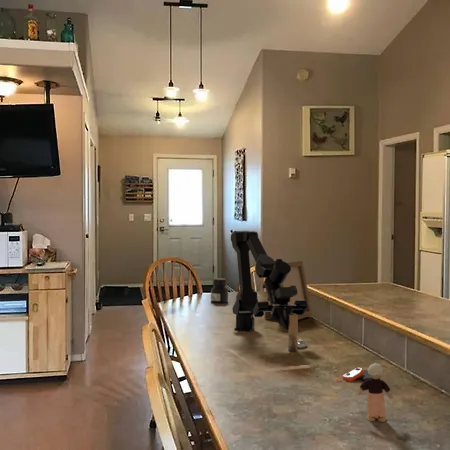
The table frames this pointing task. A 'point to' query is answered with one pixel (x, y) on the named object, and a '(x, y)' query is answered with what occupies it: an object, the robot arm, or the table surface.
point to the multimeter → (357, 375)
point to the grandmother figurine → (375, 393)
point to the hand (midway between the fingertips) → (287, 329)
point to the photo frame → (298, 280)
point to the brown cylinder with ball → (294, 334)
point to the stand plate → (297, 340)
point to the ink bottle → (219, 291)
